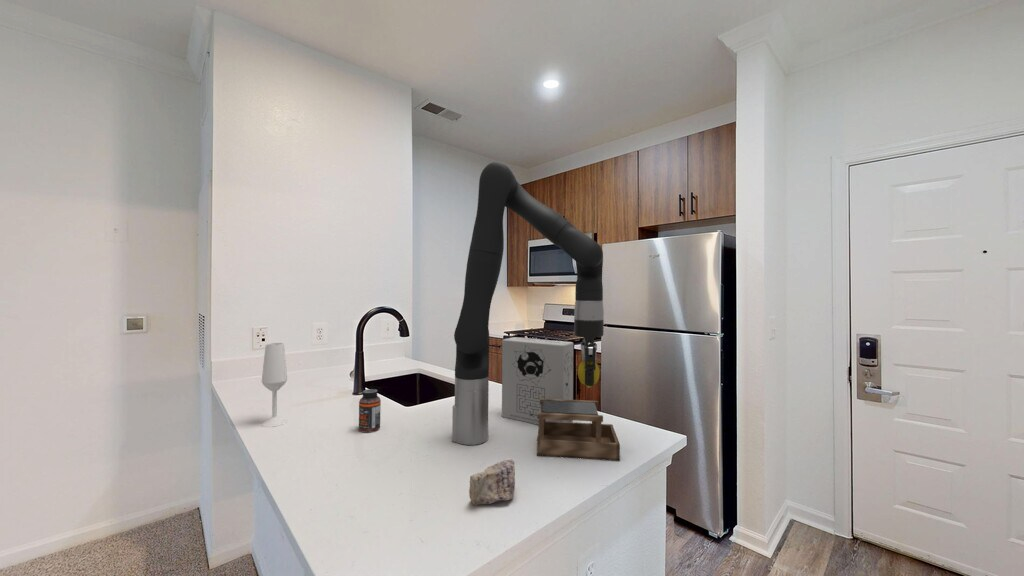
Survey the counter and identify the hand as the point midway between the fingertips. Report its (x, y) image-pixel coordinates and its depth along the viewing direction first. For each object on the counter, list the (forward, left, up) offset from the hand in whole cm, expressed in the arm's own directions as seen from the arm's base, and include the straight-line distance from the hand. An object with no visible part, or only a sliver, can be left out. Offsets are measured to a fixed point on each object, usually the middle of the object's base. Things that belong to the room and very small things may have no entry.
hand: (588, 382), depth 103 cm
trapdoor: (-5, 0, -8) cm, 10 cm away
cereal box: (-15, +20, -17) cm, 30 cm away
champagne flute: (-93, +5, -17) cm, 95 cm away
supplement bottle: (-62, +4, -17) cm, 65 cm away
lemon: (0, 0, -2) cm, 2 cm away
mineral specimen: (-20, -26, -17) cm, 37 cm away
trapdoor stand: (-3, 0, -17) cm, 17 cm away
